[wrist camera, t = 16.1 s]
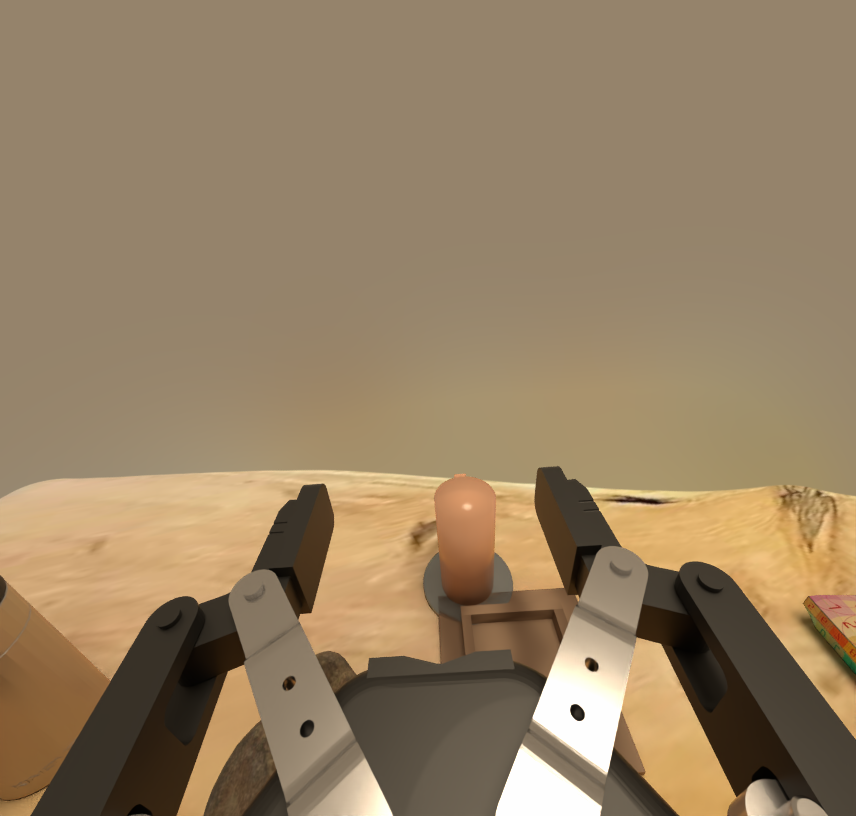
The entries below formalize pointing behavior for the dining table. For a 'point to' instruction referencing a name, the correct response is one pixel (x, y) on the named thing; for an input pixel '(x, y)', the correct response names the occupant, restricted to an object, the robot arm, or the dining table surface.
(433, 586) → the grey disc
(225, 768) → the decorative stone
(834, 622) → the puzzle game
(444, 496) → the peach orange tall mug
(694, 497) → the dining table surface
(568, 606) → the holder
